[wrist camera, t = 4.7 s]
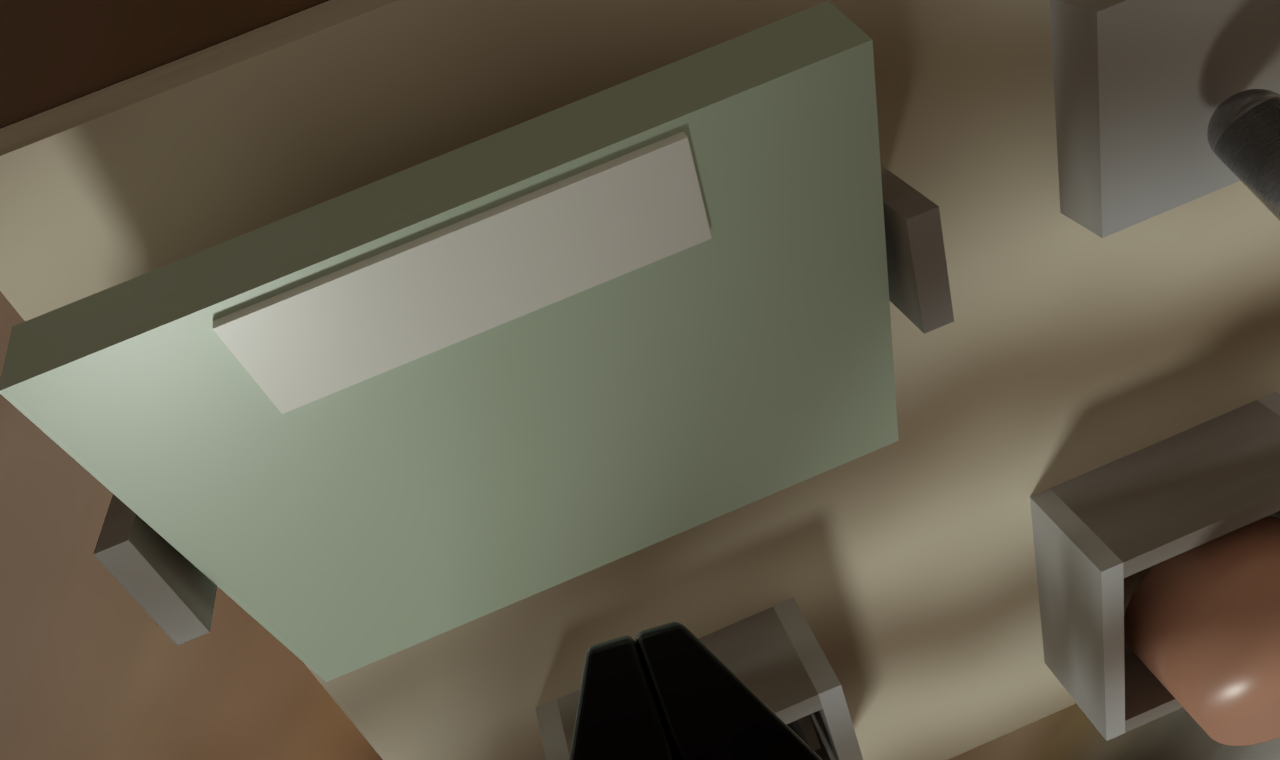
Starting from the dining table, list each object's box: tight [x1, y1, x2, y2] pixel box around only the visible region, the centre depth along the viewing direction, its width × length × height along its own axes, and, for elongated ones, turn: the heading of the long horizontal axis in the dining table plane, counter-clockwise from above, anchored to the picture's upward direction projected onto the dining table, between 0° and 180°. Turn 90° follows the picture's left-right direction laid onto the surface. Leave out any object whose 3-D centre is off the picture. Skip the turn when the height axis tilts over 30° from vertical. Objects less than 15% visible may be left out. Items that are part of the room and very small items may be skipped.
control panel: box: [0, 0, 1280, 760], centre depth 19 cm, size 23×25×5 cm
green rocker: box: [0, 1, 899, 682], centre depth 15 cm, size 8×11×1 cm
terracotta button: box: [1124, 515, 1280, 746], centre depth 21 cm, size 4×4×2 cm
